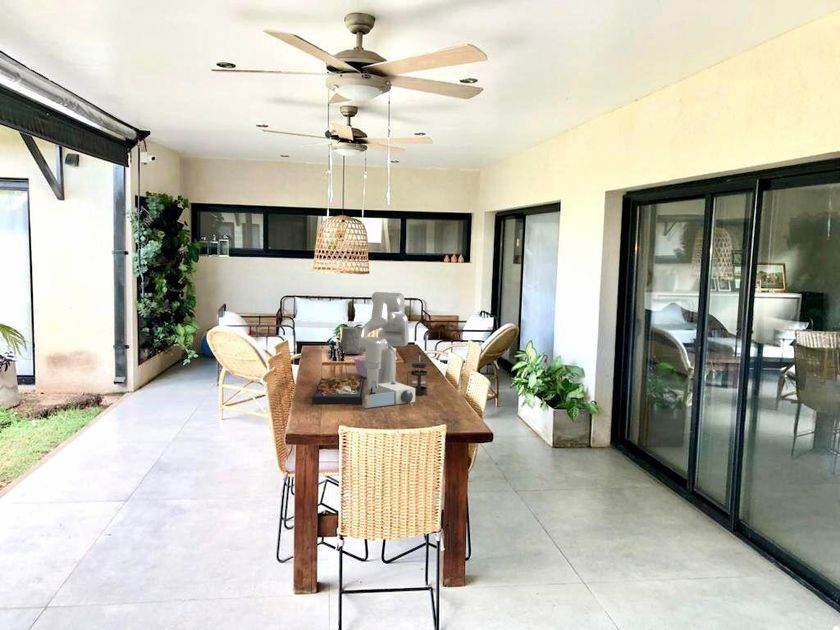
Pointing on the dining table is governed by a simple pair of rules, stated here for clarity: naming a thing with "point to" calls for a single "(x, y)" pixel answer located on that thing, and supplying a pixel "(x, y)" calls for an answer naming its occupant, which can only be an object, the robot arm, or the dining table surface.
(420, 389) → the french press
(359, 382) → the food platter
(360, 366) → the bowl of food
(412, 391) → the grey box with knob
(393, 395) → the side door
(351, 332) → the vessel
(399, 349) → the dining table surface
